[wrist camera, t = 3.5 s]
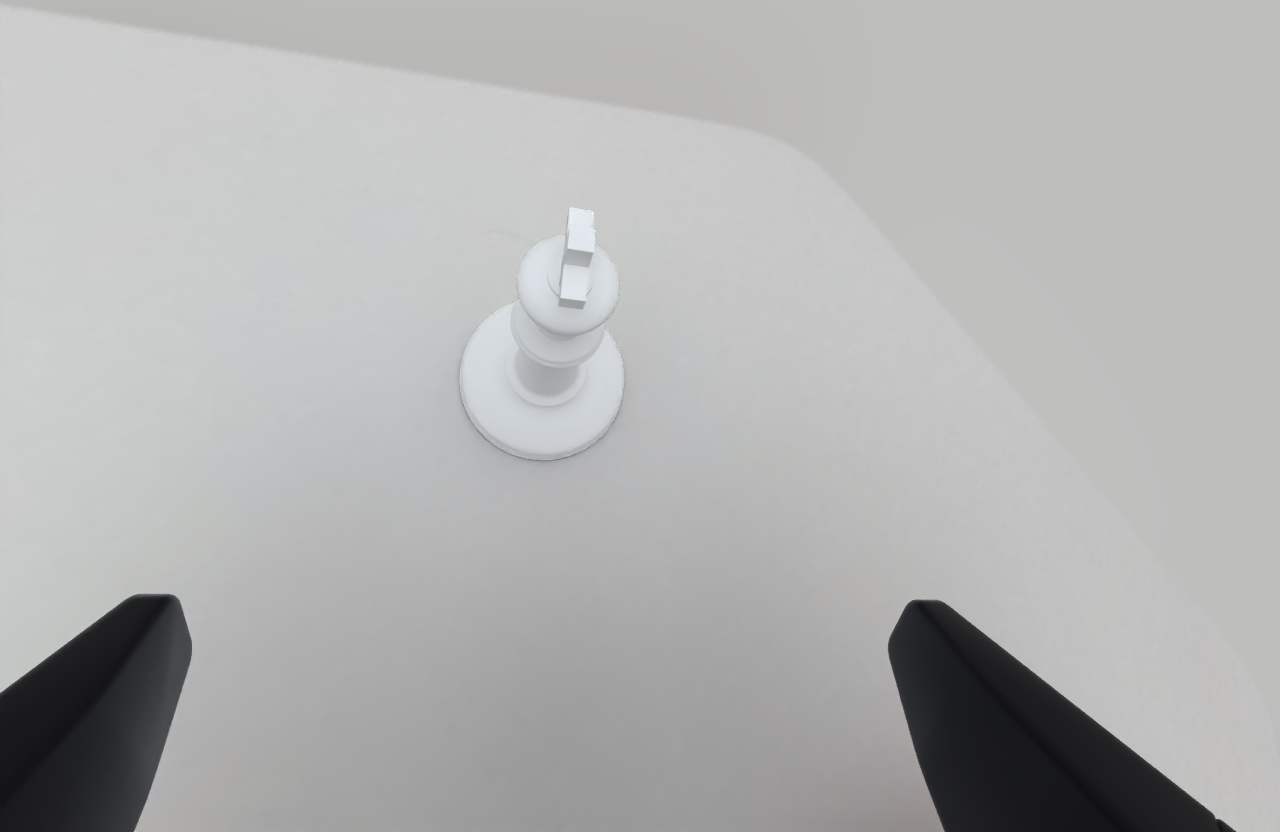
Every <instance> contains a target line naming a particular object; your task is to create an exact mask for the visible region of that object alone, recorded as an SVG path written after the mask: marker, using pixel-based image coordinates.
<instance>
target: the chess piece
mask: <svg viewBox="0 0 1280 832" xmlns="http://www.w3.org/2000/svg"><path fill="white" fill-rule="evenodd" d="M593 218H594V211H590V210H583V209H577V208H571V207H570V208H569V213H568V218H567V226H566V235H557V236H552V237H549V238H546V239H544V240H542V241H540V242H538V243H537V244H535V245H534V246H533V247H532V248H531V249H530V250H529V251H528V252H527V253H526V254H525V256H524V257H523V259H522V261H521V262H520V265H519V268H518V271H517V277H516V288H517V293H518V298H517V299H516V301H515V302H513V303H510V304H508V305H506V306H504V307H502V308H500V309H498V310H497V311H495V312H494V313H492V314H491V315H490V316H488V317H487V318H486V319H485V320H484V321H483V322H482V323H481V324H480V325H479V326H478V328H477V329H476V330H475V332H474V333H473V335H472V336H471V338H470V340H469V342H468V344H467V347H466V349H465V352H464V354H463V357H462V361H461V366H460V374H459V384H460V393H461V397H462V401H463V404H464V407H465V410H466V412H467V414H468V416H469V418H470V419H471V421H472V423H473V424H474V426H475V427H476V428H477V429H478V431H479V432H480V433H481V434H482V435H483V436H484V437H485V438H486V439H487V440H488V441H490V442H491V443H492V444H494V445H495V446H497V447H498V448H500V449H502V450H503V451H505V452H507V453H510V454H512V455H515V456H518V457H521V458H526V459H531V460H556V459H561V458H565V457H569V456H571V455H574V454H577V453H579V452H581V451H583V450H585V449H586V448H588V447H589V446H591V445H592V444H594V443H595V442H596V441H597V440H598V439H599V438H601V436H602V435H603V434H604V433H605V432H606V431H607V430H608V428H609V427H610V426H611V424H612V422H613V421H614V419H615V417H616V415H617V413H618V410H619V408H620V404H621V401H622V396H623V389H624V367H623V362H622V358H621V355H620V352H619V349H618V347H617V345H616V343H615V341H614V339H613V337H612V336H611V334H610V333H609V331H608V330H607V329H606V328H605V321H606V320H607V319H608V318H609V317H610V316H611V314H612V313H613V311H614V309H615V308H616V305H617V303H618V299H619V294H620V280H619V275H618V272H617V269H616V267H615V265H614V263H613V261H612V259H611V258H610V257H609V255H608V254H607V253H606V252H605V251H604V250H603V249H602V248H601V247H599V246H598V245H597V244H595V233H596V228H593Z"/></svg>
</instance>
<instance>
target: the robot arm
mask: <svg viewBox="0 0 1280 832" xmlns="http://www.w3.org/2000/svg"><path fill="white" fill-rule="evenodd" d="M888 653H889V659H890V662H891V666H892V669H893V673H894V677H895V680H896V684H897V687H898V691H899V695H900V698H901V702H902V705H903V709H904V713H905V716H906V720H907V723H908V727H909V731H910V734H911V738H912V741H913V745H914V749H915V752H916V755H917V758H918V761H919V765H920V768H921V770H922V773H923V776H924V779H925V782H926V784H927V787H928V790H929V792H930V795H931V797H932V800H933V803H934V805H935V808H936V810H937V813H938V816H939V818H940V821H941V823H942V826H943V829H944V831H945V832H1236V831H1235V830H1233V829H1232V828H1231V827H1230V826H1228V825H1227V824H1226V823H1225V822H1223V821H1222V820H1220V819H1215V816H1214V815H1213V813H1212V812H1210V811H1209V810H1208V809H1207V808H1205V807H1204V806H1203V805H1201V804H1200V803H1199V802H1198V801H1196V800H1195V799H1194V798H1193V797H1191V796H1190V795H1189V794H1187V793H1186V792H1185V791H1184V790H1182V789H1181V788H1180V787H1179V786H1177V785H1176V784H1175V783H1173V782H1172V781H1171V780H1170V779H1168V778H1167V777H1166V776H1165V775H1163V774H1162V773H1161V772H1159V771H1158V770H1157V769H1156V768H1154V767H1153V766H1152V765H1151V764H1149V763H1148V762H1147V761H1145V760H1144V759H1143V758H1142V757H1140V756H1139V755H1138V754H1137V753H1135V752H1134V751H1133V750H1131V749H1130V748H1129V747H1128V746H1126V745H1125V744H1124V743H1123V742H1121V741H1120V740H1119V739H1117V738H1116V737H1115V736H1114V735H1112V734H1111V733H1110V732H1109V731H1107V730H1106V729H1105V728H1103V727H1102V726H1101V725H1100V724H1098V723H1097V722H1096V721H1095V720H1093V719H1092V718H1091V717H1089V716H1088V715H1087V714H1086V713H1084V712H1083V711H1082V710H1081V709H1079V708H1078V707H1077V706H1075V705H1074V704H1073V703H1072V702H1070V701H1069V700H1068V699H1067V698H1065V697H1064V696H1063V695H1061V694H1060V693H1059V692H1058V691H1056V690H1055V689H1054V688H1053V687H1051V686H1050V685H1049V684H1047V683H1046V682H1045V681H1044V680H1042V679H1041V678H1040V677H1039V676H1037V675H1036V674H1035V673H1033V672H1032V671H1031V670H1030V669H1028V668H1027V667H1026V666H1025V665H1023V664H1022V663H1021V662H1019V661H1018V660H1017V659H1016V658H1014V657H1013V656H1012V655H1011V654H1009V653H1008V652H1007V651H1005V650H1004V649H1003V648H1002V647H1000V646H999V645H998V644H997V643H995V642H994V641H993V640H991V639H990V638H989V637H988V636H986V635H985V634H984V633H983V632H981V631H980V630H979V629H977V628H976V627H975V626H974V625H972V624H971V623H970V622H969V621H967V620H966V619H965V618H963V617H962V616H961V615H960V614H958V613H957V612H956V611H955V610H953V609H952V608H951V607H949V606H948V605H947V604H945V603H944V602H942V601H939V600H912V601H911V602H909V603H908V604H907V606H906V607H905V609H904V611H903V613H902V615H901V617H900V619H899V621H898V622H897V624H896V626H895V628H894V630H893V632H892V634H891V636H890V638H889V643H888ZM191 656H192V641H191V637H190V634H189V630H188V627H187V623H186V620H185V617H184V613H183V610H182V606H181V603H180V601H179V599H178V598H177V597H176V596H174V595H171V594H137V595H133V596H131V597H129V598H127V599H126V600H124V601H123V602H122V603H120V604H119V605H118V606H116V607H115V608H114V609H112V610H111V611H110V612H108V613H107V614H106V615H104V616H103V617H102V618H100V619H99V620H97V621H96V622H95V623H93V624H92V625H91V626H89V627H88V628H87V629H85V630H84V631H83V632H81V633H80V634H79V635H77V636H76V637H75V638H73V639H72V640H71V641H69V642H68V643H67V644H65V645H64V646H63V647H61V648H60V649H59V650H57V651H56V652H55V653H53V654H52V655H51V656H49V657H48V658H47V659H45V660H44V661H43V662H41V663H40V664H39V665H37V666H36V667H35V668H33V669H32V670H31V671H29V672H28V673H27V674H25V675H24V676H23V677H21V678H20V679H18V680H17V681H16V682H14V683H13V684H12V685H10V686H9V687H8V688H6V689H5V690H4V691H2V692H1V693H0V832H134V830H135V827H136V825H137V823H138V820H139V818H140V815H141V813H142V810H143V808H144V806H145V803H146V801H147V798H148V795H149V792H150V789H151V786H152V783H153V780H154V777H155V774H156V771H157V768H158V764H159V761H160V758H161V755H162V752H163V748H164V745H165V742H166V739H167V736H168V732H169V729H170V726H171V723H172V720H173V716H174V713H175V710H176V707H177V703H178V700H179V697H180V694H181V691H182V687H183V684H184V681H185V678H186V675H187V671H188V668H189V665H190V661H191Z"/></svg>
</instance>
